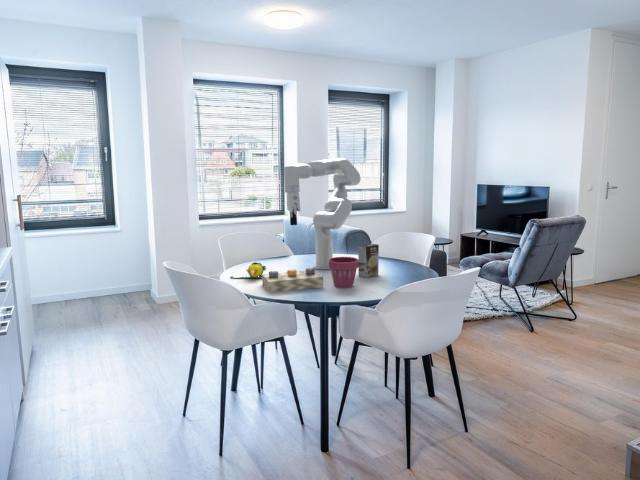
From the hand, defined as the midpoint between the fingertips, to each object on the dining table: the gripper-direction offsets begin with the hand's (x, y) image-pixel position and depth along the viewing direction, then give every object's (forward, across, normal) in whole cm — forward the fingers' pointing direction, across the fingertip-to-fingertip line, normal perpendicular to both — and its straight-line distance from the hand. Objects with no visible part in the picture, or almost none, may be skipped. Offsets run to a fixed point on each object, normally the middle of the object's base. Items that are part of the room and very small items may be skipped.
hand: (293, 224), depth 248 cm
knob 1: (+24, -22, +17) cm, 37 cm away
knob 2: (+25, -22, -1) cm, 33 cm away
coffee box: (+27, -16, -34) cm, 47 cm away
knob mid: (+25, -22, +8) cm, 34 cm away
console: (+26, -22, +8) cm, 35 cm away
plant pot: (+27, -31, -15) cm, 44 cm away
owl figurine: (+27, +3, +21) cm, 34 cm away
